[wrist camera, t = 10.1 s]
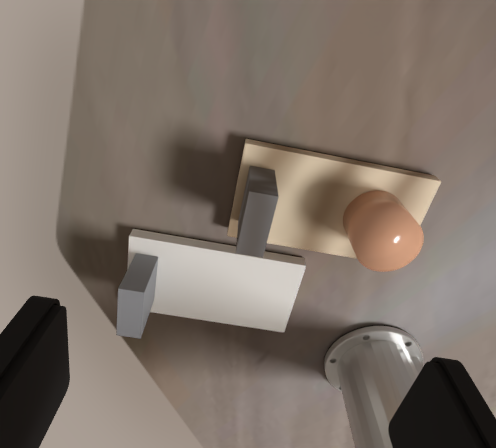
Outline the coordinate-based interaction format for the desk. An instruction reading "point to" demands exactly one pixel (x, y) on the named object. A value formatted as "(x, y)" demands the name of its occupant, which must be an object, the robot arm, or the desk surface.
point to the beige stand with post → (311, 197)
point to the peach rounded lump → (382, 231)
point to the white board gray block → (205, 284)
